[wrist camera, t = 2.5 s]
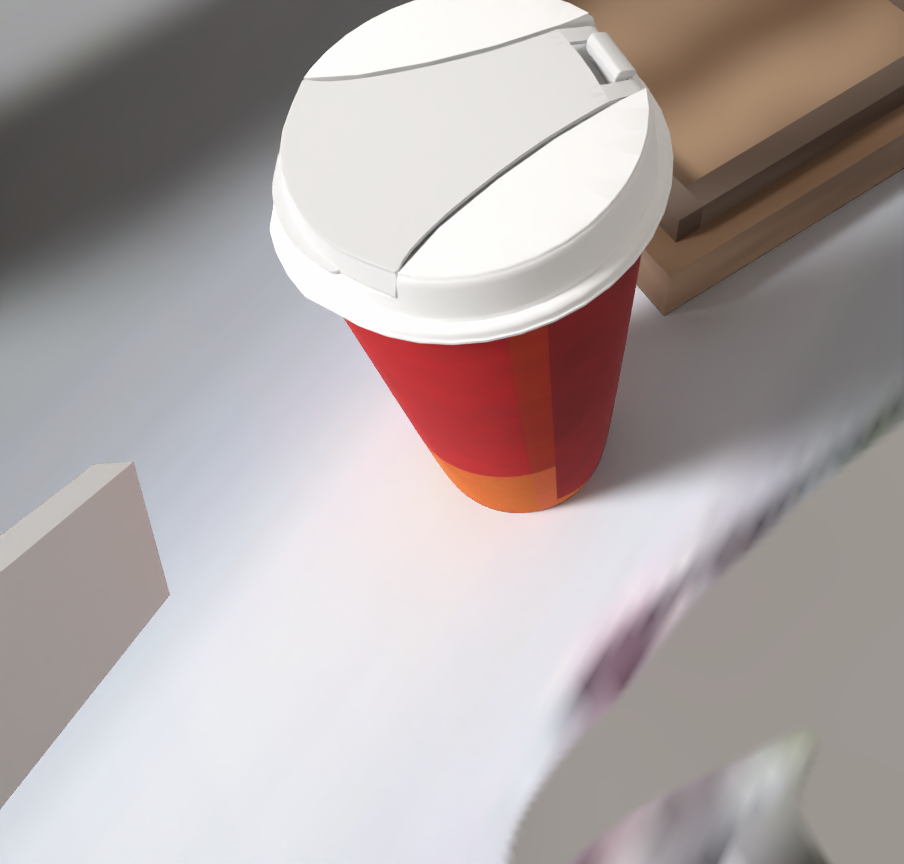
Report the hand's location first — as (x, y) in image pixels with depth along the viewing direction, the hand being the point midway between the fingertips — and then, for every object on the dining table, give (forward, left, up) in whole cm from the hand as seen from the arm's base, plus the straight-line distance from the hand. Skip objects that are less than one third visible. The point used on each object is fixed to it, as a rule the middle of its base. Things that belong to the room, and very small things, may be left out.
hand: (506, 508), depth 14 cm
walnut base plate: (-16, +18, -13) cm, 27 cm away
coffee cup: (-7, +3, -14) cm, 15 cm away
